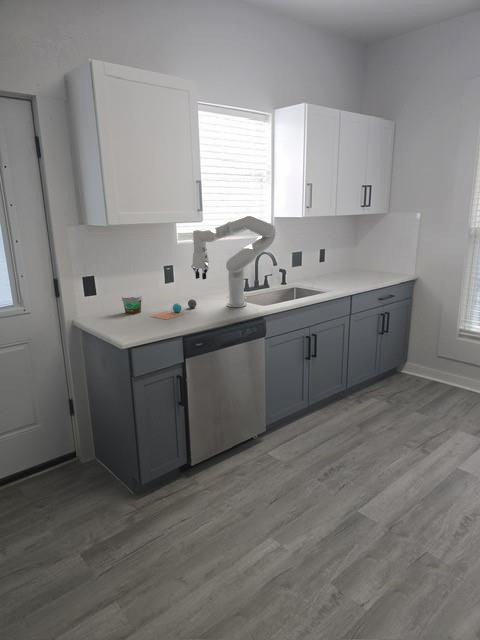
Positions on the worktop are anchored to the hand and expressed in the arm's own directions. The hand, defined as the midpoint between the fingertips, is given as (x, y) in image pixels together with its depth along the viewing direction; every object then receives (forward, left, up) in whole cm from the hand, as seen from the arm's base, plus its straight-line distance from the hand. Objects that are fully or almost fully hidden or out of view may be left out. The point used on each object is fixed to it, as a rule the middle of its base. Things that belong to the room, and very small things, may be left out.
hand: (200, 278), depth 275 cm
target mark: (+33, 0, -17) cm, 37 cm away
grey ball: (+10, 0, -15) cm, 17 cm away
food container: (+40, -22, -18) cm, 49 cm away
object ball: (+24, 0, -15) cm, 28 cm away
